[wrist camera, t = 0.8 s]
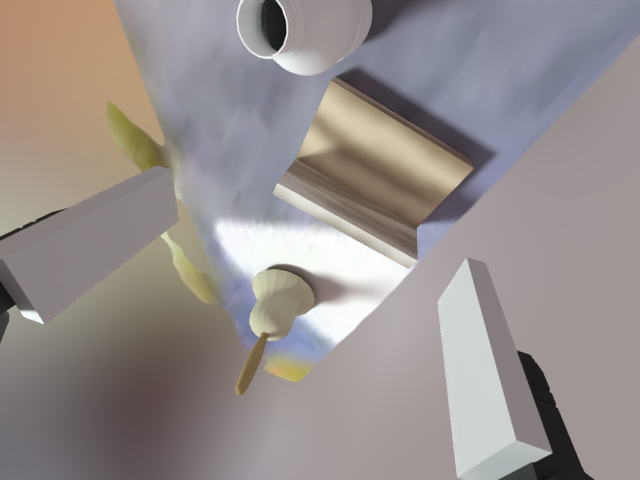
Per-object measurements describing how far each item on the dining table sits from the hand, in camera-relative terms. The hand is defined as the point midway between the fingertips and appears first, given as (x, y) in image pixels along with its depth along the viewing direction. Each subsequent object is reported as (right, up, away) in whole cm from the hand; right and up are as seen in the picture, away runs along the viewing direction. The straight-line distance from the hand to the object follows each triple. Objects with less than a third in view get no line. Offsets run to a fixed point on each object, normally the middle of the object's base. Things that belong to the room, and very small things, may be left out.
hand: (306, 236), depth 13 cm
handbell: (-8, -12, +56) cm, 57 cm away
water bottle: (+3, +27, +22) cm, 34 cm away
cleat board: (+10, +13, +30) cm, 34 cm away
